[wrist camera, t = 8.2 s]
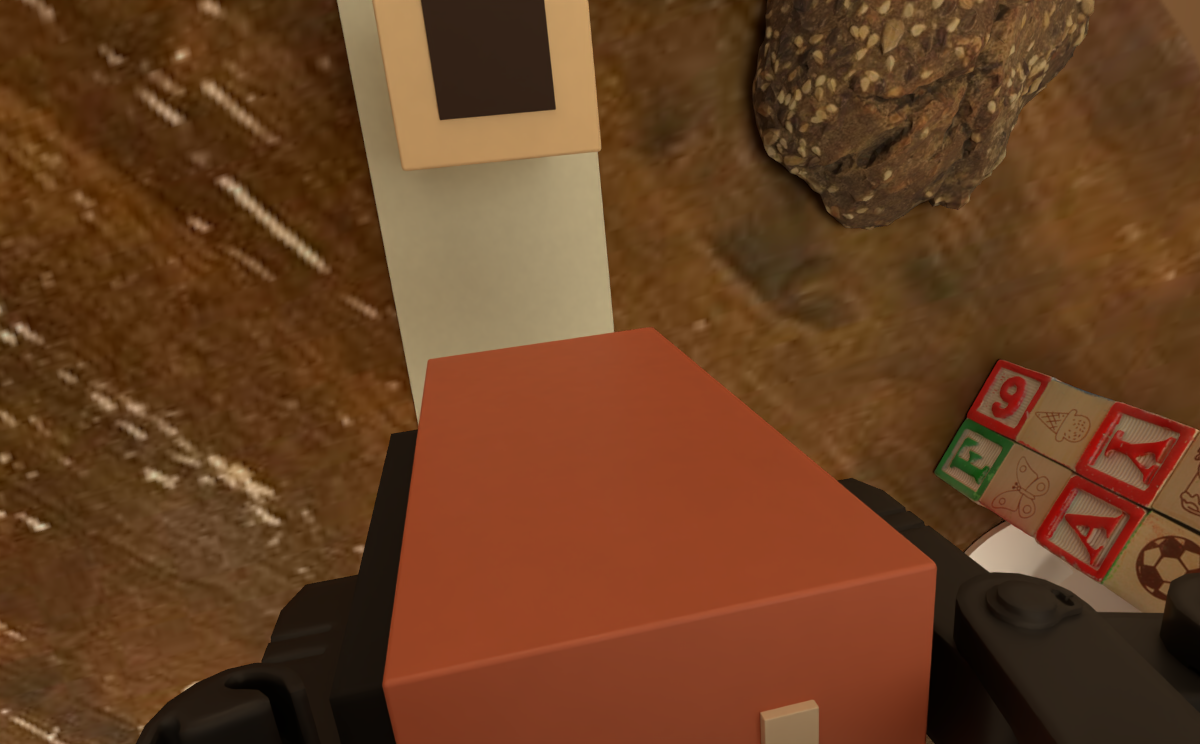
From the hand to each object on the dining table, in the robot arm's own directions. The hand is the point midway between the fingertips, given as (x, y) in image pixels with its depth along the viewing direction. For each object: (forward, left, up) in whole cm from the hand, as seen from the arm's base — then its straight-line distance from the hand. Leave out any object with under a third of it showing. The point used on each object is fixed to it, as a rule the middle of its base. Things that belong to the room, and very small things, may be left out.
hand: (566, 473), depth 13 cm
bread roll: (-8, +16, -14) cm, 23 cm away
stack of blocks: (+13, +29, -14) cm, 35 cm away
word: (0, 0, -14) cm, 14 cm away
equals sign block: (0, 0, -2) cm, 2 cm away
